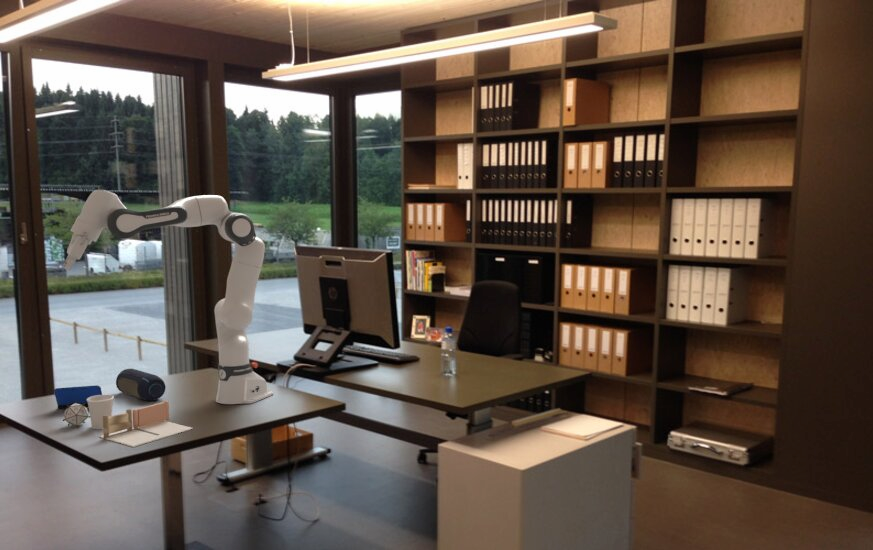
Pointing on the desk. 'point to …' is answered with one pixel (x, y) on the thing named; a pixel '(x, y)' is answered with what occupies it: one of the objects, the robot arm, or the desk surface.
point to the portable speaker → (140, 384)
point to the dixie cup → (99, 409)
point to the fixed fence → (117, 423)
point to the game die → (76, 414)
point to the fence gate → (150, 414)
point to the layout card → (146, 433)
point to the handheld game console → (75, 395)
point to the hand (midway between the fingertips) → (66, 268)
